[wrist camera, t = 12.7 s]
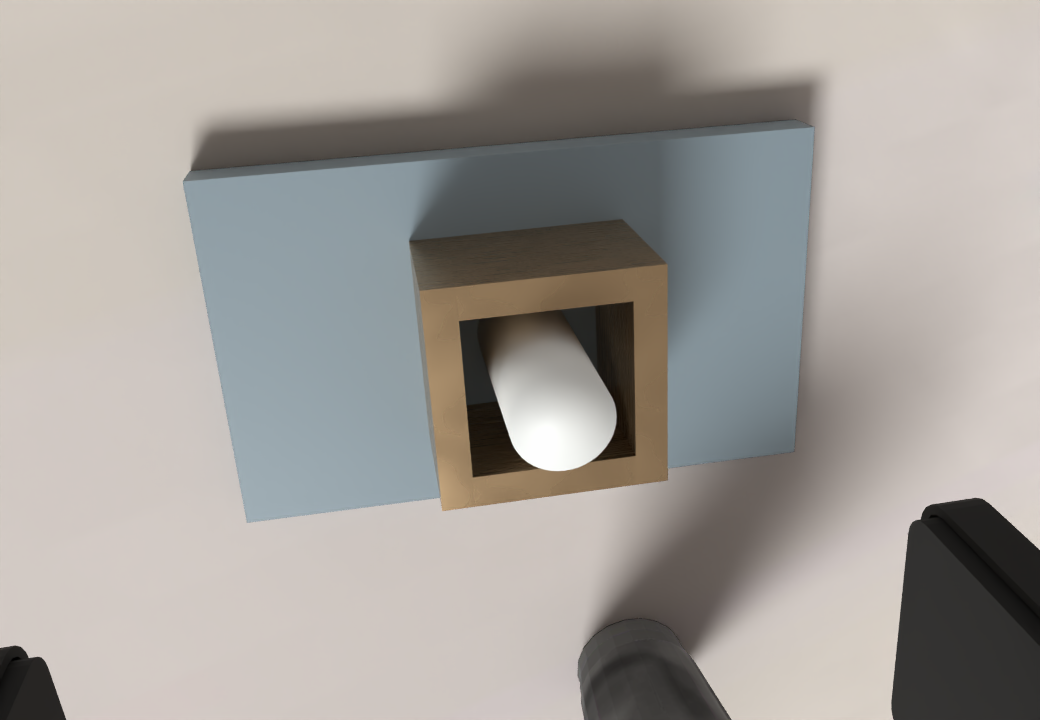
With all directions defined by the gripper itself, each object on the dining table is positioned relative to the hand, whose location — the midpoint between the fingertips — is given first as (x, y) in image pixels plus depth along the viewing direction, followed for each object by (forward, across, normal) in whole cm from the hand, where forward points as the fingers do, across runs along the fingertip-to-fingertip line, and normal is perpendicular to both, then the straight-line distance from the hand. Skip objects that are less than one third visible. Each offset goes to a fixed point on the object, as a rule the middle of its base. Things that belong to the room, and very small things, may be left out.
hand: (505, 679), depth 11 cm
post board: (+24, -3, +5) cm, 25 cm away
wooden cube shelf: (+22, -3, +5) cm, 23 cm away
